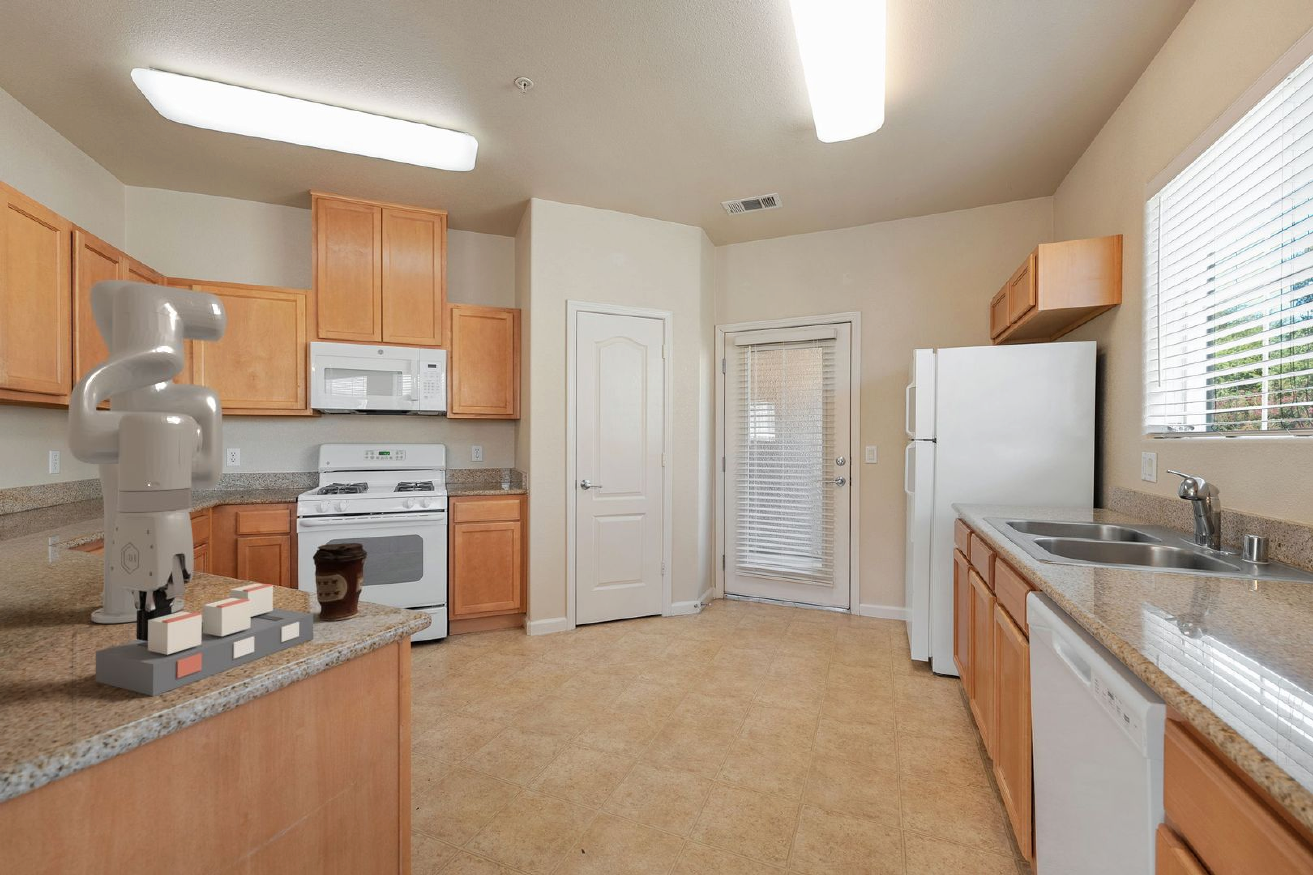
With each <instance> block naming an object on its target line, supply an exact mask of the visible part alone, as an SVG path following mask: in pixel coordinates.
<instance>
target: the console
mask: <svg viewBox="0 0 1313 875" xmlns="http://www.w3.org/2000/svg"><path fill="white" fill-rule="evenodd" d="M313 639H314V613H308V612H303V611H295V610H289V609H284V608H279V607H273V611H270V612H266V613H263V614H259V615H256V616H252V617H251V622H250V628H248V629H244V630H241V631H238V632H235V633H231V634H228V635H225V636H217V635H211V634H206V633H203V621H202V629H201V644H200V645H197V646H194V647H191V648H187V649H184V650H181V651H178V652H174V653H171V654H168V655H167V654H162V653H158V652H153V651H148V641H143V640H138V639H135V640H132V641H129V642H125V643H122V644H117V645H114V646H111V647H106V648H103V649H100V650H96V651H95V682H96V683H100V684H104V685H109V686H111V687H116V688H119V689H120V688H121V689H124V690H127V691H130V692H135V693H139V694H143V695H147V696H150V697H155V696H158V695H161V694H163V693H167V692H169V691H171V690H175V689H177V688H180V687H183V686H186V685H188V684H192V683H194V682H197V681H200V680H203V679H206V678H207V677H211V676H213V675H216V674H218V673H222V672H224V671H227V670H230V669H233V668H235V667H239V666H242V665H244V664H247V663H249V662H252V661H256V660H258V659H261V658H263V657H267V656H269V655H272V654H275V653H277V652H279V651H280V652H281V651H282V650H283V651H284V650H286V649H289V648H291V647H294V646H297V645H300V644H302V643H305V642H309V641H311V640H313Z"/></svg>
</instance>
